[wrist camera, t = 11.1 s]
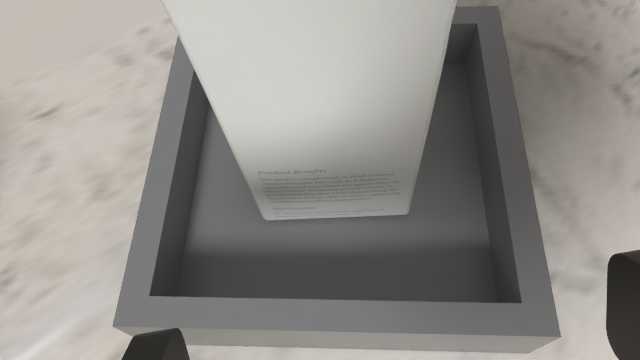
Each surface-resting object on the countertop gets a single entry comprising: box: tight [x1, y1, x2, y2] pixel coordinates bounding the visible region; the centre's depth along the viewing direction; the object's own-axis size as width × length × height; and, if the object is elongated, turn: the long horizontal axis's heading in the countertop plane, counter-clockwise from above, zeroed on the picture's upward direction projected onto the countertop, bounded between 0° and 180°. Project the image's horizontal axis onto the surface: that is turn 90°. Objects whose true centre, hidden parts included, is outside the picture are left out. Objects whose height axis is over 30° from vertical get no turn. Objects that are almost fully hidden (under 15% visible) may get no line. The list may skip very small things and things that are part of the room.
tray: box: [113, 6, 561, 353], centre depth 20 cm, size 14×14×3 cm
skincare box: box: [161, 0, 457, 220], centre depth 15 cm, size 6×4×12 cm
